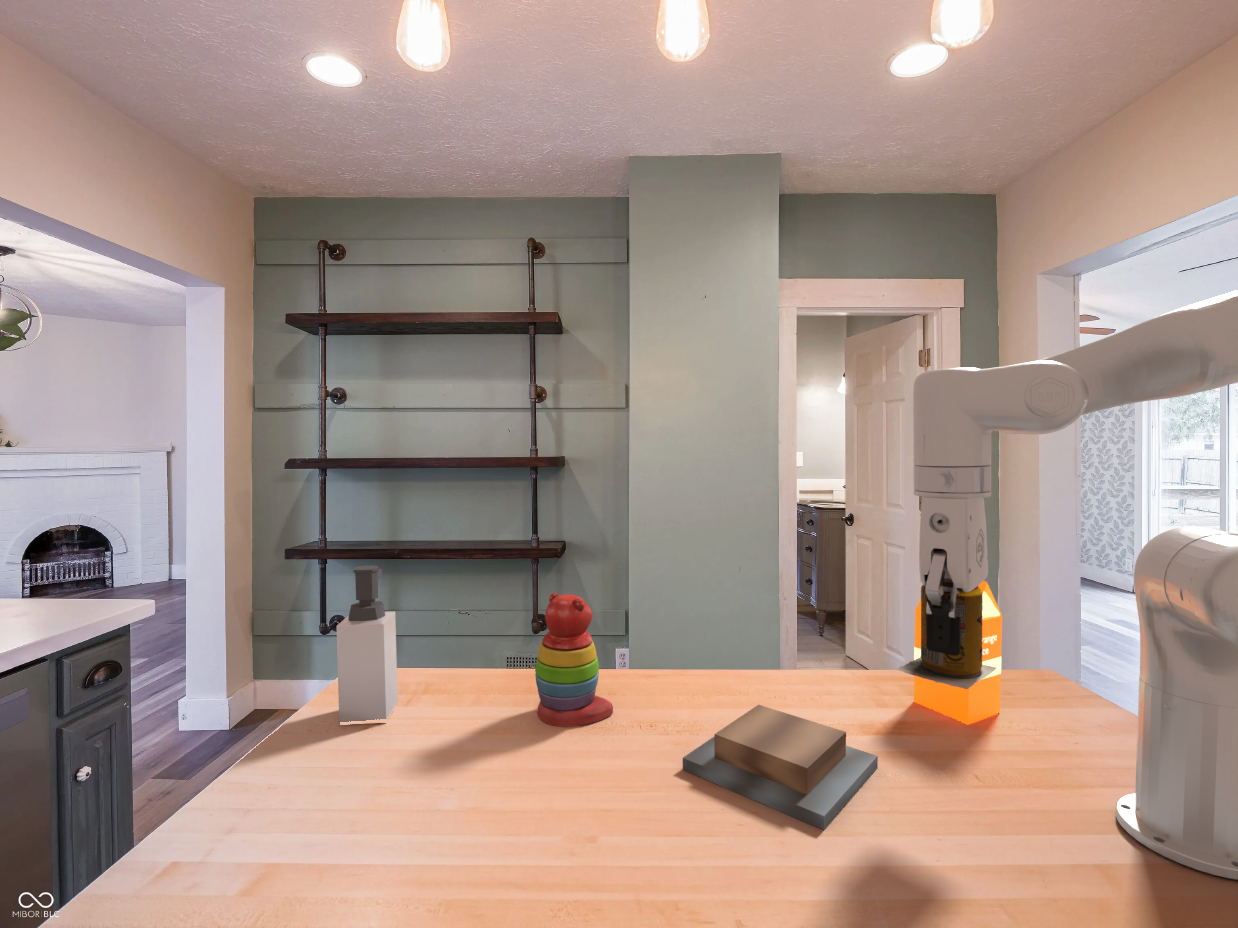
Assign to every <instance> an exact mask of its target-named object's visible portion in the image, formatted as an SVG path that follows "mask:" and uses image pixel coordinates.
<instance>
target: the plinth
mask: <svg viewBox="0 0 1238 928" xmlns="http://www.w3.org/2000/svg"><path fill="white" fill-rule="evenodd" d="M878 757H879V756H878V755H876V754H873V753H870V752H867V751H864V750H861V749H859V748H855V747H851V746H850V745H849V746H848V745H847V731H846V730H845V731H844V730H841V729H838V728H836V727H835V728H834V727H832V726H829V725H825V724H822V723H819V722H816V721H813V720H809V719H806V718H803V717H799V716H797V715H793V714H790V713H787V712H783V711H780V710H778V709H774V708H771V707H768V706H765V705H761V704H757V705H755V706H754V707H753V708H751V709H750V710H748V711H747V712H745V713H744V714H743V715H741V716H740V717H738V718H737V719H735V720H734V721H732V722H730V723H729V724H727V725H726V726H725V727H723V728H722V729H720V730H719V731H717V732H716V733H714V735H713V737H711V738H710V739H708V740H707V741H705V742H704V743H702V744H701V745H699V746H698V747H696V748H695V749H693V750H692V751H690V752H689V753H688V754H685V755H684V756H683V757H682V770H683V771H685V772H687V773H690V774H692V775H694V776H697V777H699V778H702V779H704V780H706V781H709V782H711V783H713V784H716V785H718V786H720V787H723V788H725V789H727V790H730V791H732V792H734V793H737V794H739V795H741V796H743V797H746V798H748V799H750V800H753V801H754V802H757V803H760V804H762V805H764V806H766V807H769V808H772V809H774V810H776V811H778V812H780V813H784V814H785V815H787V816H790V817H792V818H795V819H797V820H799V821H802V822H804V823H807V824H809V825H812V826H813V827H816V828H818V829H821V830H822V831H823V830H824V831H825V830H826V829H827V828H828V826H829V825H830V824H831V822H833V820H834V819H835V818H836V817H837V815H838V814H839V813H840V812H841V811H842V810H843V809H844V808H845V807H846V805H847V804H848V803H849V802H850V801H851V799H852V798H853V797H854V796H855V795H856V794H857V792H858V791H859V790H860V789H861V788H862V787H863V785H864V784H865V783H866V782H867V781H868V780H869V778H870V777H871V776H872V775H873V774H874V772H876V770H877V769H878V765H879V764H878V762H879V761H878V759H879V758H878Z"/></svg>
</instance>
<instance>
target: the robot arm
mask: <svg viewBox="0 0 1238 928" xmlns="http://www.w3.org/2000/svg"><path fill="white" fill-rule="evenodd" d="M1236 383H1238V290H1233V291H1231V292H1228V293H1225V294H1221V295H1218V296H1214V297H1212V298H1208V299H1205V300H1201V301H1199V302H1196V303H1193V304H1192V303H1191V304H1189V305H1187V306H1183V307H1180V308H1177V309H1174V310H1172V311H1169V312H1166V313H1163V314H1161V315H1158V316H1155V317H1152V318H1149V319H1147V320H1145V321H1143V322H1140V323H1138V324H1136V325H1133V326H1131V327H1129V328H1127V329H1124V330H1122V331H1119V332H1117V333H1115V334H1111V335H1109V336H1106V337H1103V338H1101V339H1099V340H1096V341H1093V342H1090V343H1087V344H1085V345H1081V346H1077V347H1075V348H1073V349H1069V350H1066V351H1063V352H1060V353H1057V354H1054V355H1051V356H1048V357H1044V358H1041V359H1038V360H1033V361H1028V362H1021V363H1016V364H1010V365H1004V366H996V367H990V368H989V367H987V368H977V367H948V368H939V369H938V368H937V369H932V370H926V371H924V372H921V373H920V374H919V375H917V377H916V378H915V380H914V382H913V391H912V394H913V396H912V398H913V399H912V401H913V404H912V406H913V407H912V408H913V409H912V410H913V411H912V413H913V416H912V417H913V422H912V423H913V426H912V427H913V433H912V434H913V435H912V436H913V495H914V496H917V497H921V504H920V506H921V508H920V515H919V517H920V520H919V544H918V545H919V548H918V549H919V552H918V553H919V554H918V562H919V563H918V564H919V578H920V582H921V584H922V585H924V586H926V594H927V598H926V599H927V607H926V635H927V649H928V650H930V651H934V652H940V653H945V654H950V655H955V656H957V655H959V654H960V652H961V617H957V610H958V599H959V589H960V588H962V589H963V591H964V592H970V591H972V590H973V589H975V588H976V587H977V586H978V585H980V584H981V583H982V582H983V581H985V580H986V579H987V578H988V575H989V562H988V561H989V559H988V556H989V555H988V537H987V536H988V535H987V534H988V533H987V519H986V506H985V499H984V498H990V497H991V496H992V432H993V431H994V432H1001V433H1004V434H1008V435H1009V434H1010V435H1034V436H1035V435H1047V434H1053V433H1056V432H1060V431H1061V430H1063V429H1065V428H1067V427H1069V426H1071V425H1072V424H1074V423H1075V422H1076V421H1077V420H1078V419H1079V418H1080V417H1081V416H1084V415H1087V414H1091V413H1096V412H1099V411H1103V410H1107V409H1112V408H1115V407H1116V408H1117V407H1119V406H1125V405H1131V404H1134V403H1135V404H1136V403H1142V402H1149V401H1157V400H1159V401H1160V400H1166V399H1173V398H1179V397H1184V396H1189V395H1194V394H1198V393H1202V392H1203V393H1204V392H1206V391H1211V390H1216V389H1219V388H1222V387H1226V386H1228V385H1233V384H1236ZM929 570H930V571H929ZM928 572H929V575H928ZM927 576H928V579H927ZM943 582H951V583H953V587H947V586H943ZM1133 583H1134V584H1133V587H1134V594H1135V602H1136V609H1137V614H1138V616H1137V617H1138V623H1139V635H1140V637H1139V639H1140V642H1139V643H1140V644H1139V645H1140V646H1139V647H1140V651H1139V652H1140V653H1139V655H1140V657H1139V676H1138V677H1139V678H1138V701H1137V704H1138V705H1137V707H1138V709H1137V729H1136V730H1137V731H1136V732H1137V733H1136V734H1137V735H1136V764H1135V787H1134V788H1135V790H1134V793H1130V794H1126V795H1123V796H1121V798H1119V799H1118V800H1117V802H1116V803H1115V817H1116V820H1117V821H1118V823H1119V824H1120V826H1121V827H1122V828H1123V829H1124V830H1125V831H1126V832H1127V834H1129V835H1130V836H1131V837H1132V838H1134V839H1135V840H1136V841H1138V842H1139V843H1140V844H1142V845H1143V846H1145V847H1147V848H1148V849H1149V850H1151V851H1153V852H1155V853H1156V854H1159V855H1160V856H1162V857H1165V858H1167V859H1169V860H1171V861H1173V862H1176V863H1178V864H1180V865H1182V866H1186V867H1188V868H1191V869H1193V870H1197V871H1199V872H1203V873H1206V874H1210V875H1213V876H1216V877H1222V878H1225V879H1231V880H1236V881H1238V533H1235V532H1232V531H1231V532H1230V531H1226V530H1221V529H1217V528H1213V527H1205V526H1184V527H1183V526H1182V527H1176V528H1173V529H1168V530H1166V531H1163V532H1161V533H1159V534H1157V535H1155V536H1154V537H1152V538H1151V539H1150V540H1149V541H1147V542H1146V543H1145V545H1144V546H1143V547H1142V549H1141V550H1140V551H1139V554H1138V556H1137V557H1136V561H1135V564H1134V571H1133ZM943 593H946V594H951V597H950V603H949V599H948V597H947V596H946V595H943Z"/></svg>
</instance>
